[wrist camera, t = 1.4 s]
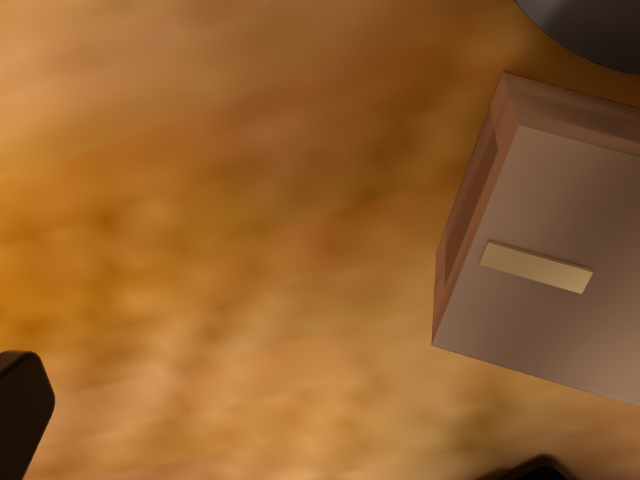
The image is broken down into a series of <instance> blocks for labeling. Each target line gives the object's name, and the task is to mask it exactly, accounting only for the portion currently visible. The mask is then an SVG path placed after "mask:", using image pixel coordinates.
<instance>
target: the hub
mask: <svg viewBox="0 0 640 480" xmlns="http://www.w3.org/2000/svg"><path fill="white" fill-rule="evenodd" d="M515 1H516V2H517V3H518V5H519V6H520V7H521V8H522V10H523V11H524V12H525V14H526V15H527V16H528V17H529V18H530V19H531V20H532V21H533V22H535V23H536V24H537V25H538V26H539V27H540V28H541V29H542V30H543V31H544V32H545V33H546V34H547V35H549V36H550V37H552V38H553V39H554V40H556V41H557V42H559V43H560V44H561V45H563V46H564V47H566V48H567V49H569V50H570V51H572V52H574V53H576V54H578V55H580V56H582V57H584V58H586V59H588V60H590V61H592V62H594V63H597V64H600V65H603V66H606V67H608V68H611V69H614V70H617V71H620V72H624V73H630V74H635V75H640V0H515Z"/></svg>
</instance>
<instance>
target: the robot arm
mask: <svg viewBox="0 0 640 480" xmlns="http://www.w3.org/2000/svg"><path fill="white" fill-rule="evenodd" d="M54 407H55V395H54V392H53V389H52V386H51V384H50V381H49V379H48V376H47V374H46V371H45V368H44V366H43V363H42V361H41V359H40V357H39V356H38V355H37V354H36V353H34V352H31V351H18V350H9V351H4V352H2V353H0V480H23V478H24V476H25V473H26V471H27V469H28V467H29V465H30V462H31V460H32V458H33V456H34V454H35V451H36V449H37V447H38V445H39V443H40V440H41V438H42V436H43V434H44V431H45V429H46V427H47V425H48V423H49V420H50V418H51V416H52V414H53V411H54ZM542 471H549V472H542ZM497 480H575V479H574V478H573V477H572V476H571V475H570V474H569V473H568V472H566V471H565V470H564V469H563V468H562V467H561V466H560V465H559V464H558V463H557V462H555V461H554V460H552V459H549V458H539V459H536V460H534V461H532V462H530V463H528V464H526V465H524V466H522V467H521V468H519V469H517V470H515V471H513V472H511V473H509V474H507V475H505V476H503V477H501V478H499V479H497Z"/></svg>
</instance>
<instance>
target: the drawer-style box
mask: <svg viewBox="0 0 640 480" xmlns="http://www.w3.org/2000/svg"><path fill="white" fill-rule="evenodd" d="M431 346H434V347H438V348H441V349H444V350H448V351H451V352H454V353H458V354H461V355H464V356H468V357H471V358H475V359H478V360H481V361H485V362H488V363H491V364H495V365H498V366H501V367H505V368H508V369H511V370H515V371H518V372H522V373H525V374H528V375H532V376H535V377H538V378H542V379H545V380H548V381H552V382H555V383H559V384H562V385H565V386H569V387H572V388H575V389H579V390H582V391H585V392H589V393H592V394H595V395H599V396H602V397H606V398H609V399H612V400H616V401H619V402H622V403H626V404H629V405H632V406H636V407H639V408H640V108H637V107H633V106H630V105H626V104H622V103H618V102H614V101H611V100H607V99H603V98H599V97H596V96H592V95H588V94H584V93H581V92H577V91H573V90H569V89H566V88H562V87H558V86H554V85H551V84H547V83H543V82H539V81H535V80H532V79H528V78H524V77H520V76H517V75H513V74H509V73H505V72H502V75H501V77H500V80H499V83H498V86H497V88H496V91H495V94H494V97H493V99H492V102H491V105H490V107H489V110H488V113H487V116H486V118H485V121H484V124H483V127H482V129H481V132H480V135H479V138H478V140H477V143H476V146H475V148H474V151H473V154H472V157H471V159H470V162H469V165H468V168H467V170H466V173H465V176H464V178H463V181H462V184H461V187H460V189H459V192H458V195H457V198H456V200H455V203H454V206H453V209H452V211H451V214H450V217H449V219H448V222H447V225H446V228H445V230H444V233H443V236H442V239H441V241H440V244H439V247H438V249H437V252H436V271H435V289H434V308H433V326H432V345H431Z"/></svg>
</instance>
